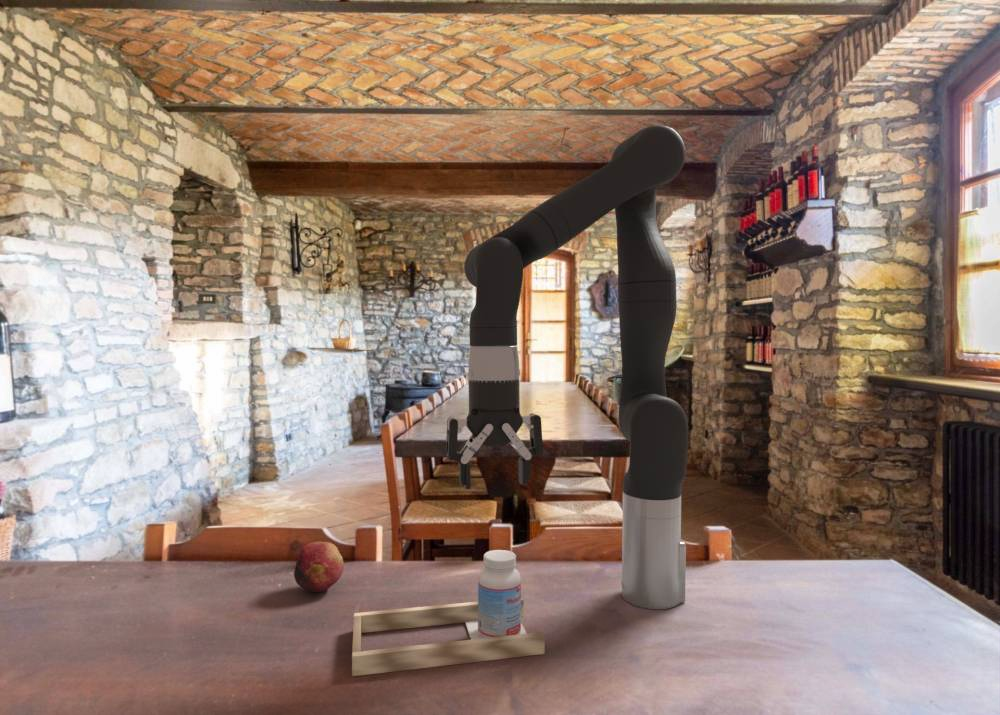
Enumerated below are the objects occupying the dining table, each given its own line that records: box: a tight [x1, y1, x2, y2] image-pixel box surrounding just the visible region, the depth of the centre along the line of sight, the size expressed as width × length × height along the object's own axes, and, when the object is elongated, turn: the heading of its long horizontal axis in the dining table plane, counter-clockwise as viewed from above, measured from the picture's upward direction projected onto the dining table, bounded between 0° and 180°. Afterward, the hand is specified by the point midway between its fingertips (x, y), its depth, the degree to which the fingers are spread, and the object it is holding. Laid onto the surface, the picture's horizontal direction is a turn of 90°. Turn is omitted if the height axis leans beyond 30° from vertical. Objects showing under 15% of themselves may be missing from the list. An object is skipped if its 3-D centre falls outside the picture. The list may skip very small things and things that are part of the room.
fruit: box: [293, 541, 345, 593], centre depth 99 cm, size 8×8×8 cm
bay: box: [351, 596, 546, 677], centre depth 82 cm, size 25×12×2 cm, turn 103°
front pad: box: [464, 621, 527, 640], centre depth 84 cm, size 8×9×1 cm
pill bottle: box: [477, 549, 522, 638], centre depth 84 cm, size 6×6×11 cm
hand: (495, 486), depth 88 cm, fingers open, 8 cm apart
